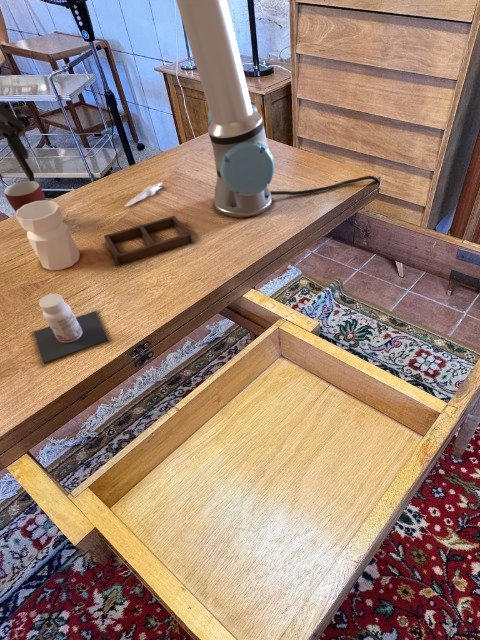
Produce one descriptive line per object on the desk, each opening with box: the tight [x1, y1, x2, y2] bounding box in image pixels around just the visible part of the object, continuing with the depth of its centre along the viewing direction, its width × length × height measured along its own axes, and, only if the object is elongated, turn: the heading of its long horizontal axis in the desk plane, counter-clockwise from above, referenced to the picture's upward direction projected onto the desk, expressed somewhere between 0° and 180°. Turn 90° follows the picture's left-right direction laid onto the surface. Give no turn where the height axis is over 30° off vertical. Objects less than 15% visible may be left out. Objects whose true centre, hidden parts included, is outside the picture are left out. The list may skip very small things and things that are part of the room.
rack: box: [103, 215, 193, 266], centre depth 107 cm, size 18×11×2 cm, turn 121°
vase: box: [15, 199, 81, 271], centre depth 99 cm, size 9×9×12 cm
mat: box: [33, 310, 110, 365], centre depth 86 cm, size 12×10×1 cm
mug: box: [3, 180, 47, 213], centre depth 109 cm, size 11×8×10 cm
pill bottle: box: [38, 293, 82, 343], centre depth 82 cm, size 5×5×8 cm
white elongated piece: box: [123, 181, 163, 207], centre depth 122 cm, size 15×3×2 cm, turn 149°
